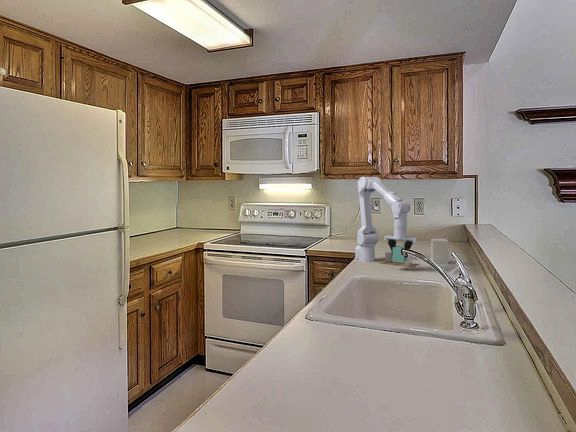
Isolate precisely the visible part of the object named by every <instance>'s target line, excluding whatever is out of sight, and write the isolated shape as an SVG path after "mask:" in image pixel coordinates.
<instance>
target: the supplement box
mask: <svg viewBox="0 0 576 432" xmlns="http://www.w3.org/2000/svg"><path fill="white" fill-rule="evenodd" d="M429 257H430V259H431V260H432V261H434V262H435V263H437V264H436V265H449V240H448V239H446V238H430V256H429ZM430 259H429V260H430Z"/></svg>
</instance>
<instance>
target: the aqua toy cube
mask: <svg viewBox="0 0 576 432" xmlns="http://www.w3.org/2000/svg"><path fill="white" fill-rule="evenodd" d="M402 248H405V246H404V245H403V246H402V245H396V246H395V247H393V256H392V261H393V262H401V263H404V262H406V261H407V258H405V256H403V255H401V249H402Z"/></svg>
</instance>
